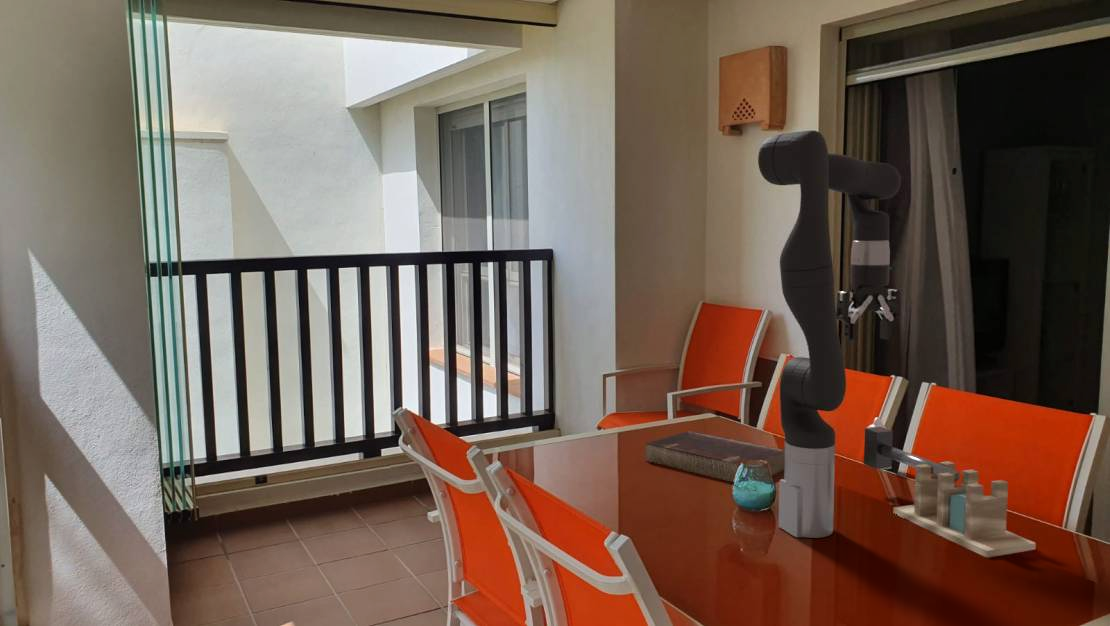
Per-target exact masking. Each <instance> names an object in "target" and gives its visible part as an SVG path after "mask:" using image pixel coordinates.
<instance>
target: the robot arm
mask: <svg viewBox="0 0 1110 626" xmlns="http://www.w3.org/2000/svg"><path fill="white" fill-rule="evenodd" d="M757 162H758V163H757V165H758V169H759V171H760V174H761V176H762V177H763V179H764V180H765V181H766V182H768V183H769V184H771V185H776V186H792V185H799V186H800V200H799V201H800V205H799V212H798V215H797V219H796V222H795V223H794V225H793V228H792V230H791V231H790V233H789V236H787V239H786V241H785V243H784V246H783V247H782V250H781V253H780V257H779V269H780V270H779V271H780V280H781V290H782V295H783V297H784V299H785V302H786V304H787V306H788V308H789V311H790V312H791V313H792V315H793V317H794V319H795V320H796V322H797V323H798V326H799V327H800V329H801V331H802V332H803V334H804V335H803V336H804V337H805V340H806V345H807V349H808V357H803V356H797V357H794V358H791V359H790V360H789V361H787V362H786V363H785V365H784V367H783V368H782V372H781V375H780V382H779V403H780V404H779V406H780V407H779V408H780V424H781V428H782V431H783V433H784V450H785V452H784V470H783V478H782V479H779V481H778V482H779V484H778V485H779V489H778V492H779V493H778V528H780V529H782V530H783V531H785V532H787V533H788V534H789V535H791V536H793V537H795V538H814V539H819V538H825V537H829V536H830V535H831V536H832V534H833V532H834V506H835V505H834V501H835V499H834V498H835V497H834V496H835V495H834V494H835V464H836V463H835V457H836V456H835V455H836V454H835V453H836V432H835V429H834V427H832V426H831V425H830V424H829V423H827V421H826V420H824V419H823V418H822V416H821V415H820V413H819V411H821V412H833V411H835V410H837V409H838V408H839V407H840V406H841V405H842V404H843V402H844V399H845V395H846V390H847V376H846V370H845V369H846V368H845V364H844V363H845V362H844V359H843V358H844V357H843V352H842V347H841V343H840V336H839V335H840V334H839V330H838V321H841V322H843V323H844V333H843V334H844V335H843V337H844V338H845V340H846V341H847V342H855V341H856V331H857V330H856V327H857V324H856V322H857V320H858V318H859V317H860V316H861V315H863V313H864V312H865V313H866V312H867V313H869V312H875V313H877V314H878V316H879V318H880V319H881V320H880V322H879V323H880V324H879V338H880V339H881V340H882V339H883V340H889V339H890V337H891V335H892V322H893V321H894V320H895V319H900V318H901V313H902V311H901V310H902V309H901V307H902V306H901V291H900V289H895V288H888V285H889V283H890V258H891V256H890V255H891V251H890V250H891V249H890V221H891V220H890V216H889V213H887V212H885V211H879V210H875V209H873V208H872V206H871V205H870V202H869V200H871V201H872V200H887V199H890V198H893V197H894V196H895V195H896V194H897V193H898V192H899V190H900V188H901V184H902V178H901V174H900V172H899V171H898V169H897V168H896V167H895V166H894V165H892V164H890V163H886V162H879V161H877V162H876V161H866V160H861V159H859V158H857V157H853V156H849V155H846V154H839V153H829V151H828V144H827V142H826V139H825V137H824V135H822V133H821V132H819V131H817V130H813V129H812V130H803V131H802V130H801V131H795V132H786V133H780V134H776V135H771V136H770V137H768V138H766V139H765V140H764V141H763V142H762V143H761V145H760V148H759V150H758V156H757ZM829 190H832V191H835V192H839V193H843V194H846V195H847V196H846V197H847V199H848V203H849V208H850V213H851V217H852V225H853V227H852V246H851V249H850V250H851V252H850V285H851V291H845V290H844V291H843V290H839V291H837V297H836V299H835V280H834V279H835V278H834V266H833V265H834V264H833V256H832V255H833V254H832V249H831V236H830V235H831V234H830V220H829V193H830V192H829ZM886 300H887V302H886ZM851 301H852V302H851ZM850 302H851V303H850Z"/></svg>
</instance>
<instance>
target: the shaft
mask: <svg viewBox="0 0 1110 626" xmlns="http://www.w3.org/2000/svg"><path fill="white" fill-rule="evenodd" d="M893 432H894V431H893V430H891V429H888V428H887V427H886V428H883V427H873V428H867V427H866V428H864V442H863V443H864V444H863V445H864V447H863V449H864V450H863V451H864V452H863V465H865V466H867V467H870V468H873V469H875V470H883V469H882V468H890V467H893V466H892V465H893V461H896V462H898V463H901V464H904V465H906V466H909V467H911V468H914V469H916V465H922V464H927V465H929V466H931V476H937V477H938V474H941V473H950V474H953V475H954V484H956V483H958V481H959V480H960V476H961V474H960V472H959V471H958V470H953V469H951V468H948V467H945V466H943V465H940V464H939V463H936V462H934V461H931V460H929V459H926V458H923V457H921V456H918V455H915V454H913V453H909V452H906V451H904V450H902V449H899V448H897V447H893V437H894V434H893Z"/></svg>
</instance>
